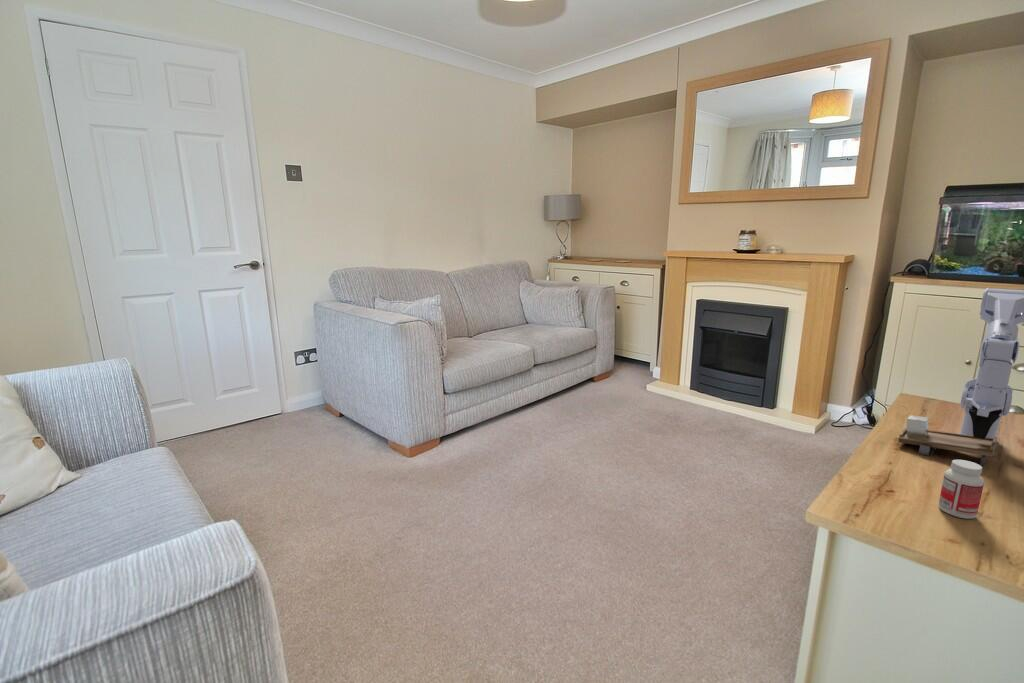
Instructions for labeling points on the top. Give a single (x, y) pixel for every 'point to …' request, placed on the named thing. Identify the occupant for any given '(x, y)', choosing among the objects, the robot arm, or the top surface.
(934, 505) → the top surface
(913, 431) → the block
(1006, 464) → the top surface
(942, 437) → the balance beam
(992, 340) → the robot arm
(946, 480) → the pill bottle
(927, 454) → the beam stand
